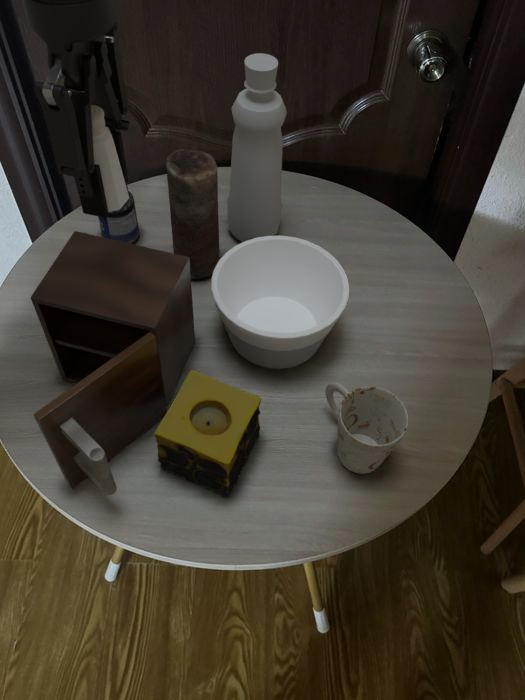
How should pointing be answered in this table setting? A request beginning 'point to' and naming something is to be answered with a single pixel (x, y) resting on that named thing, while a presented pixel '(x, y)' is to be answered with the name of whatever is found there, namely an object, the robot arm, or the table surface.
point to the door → (104, 414)
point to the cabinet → (115, 306)
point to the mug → (367, 425)
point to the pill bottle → (121, 223)
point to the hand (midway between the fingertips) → (106, 196)
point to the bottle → (256, 152)
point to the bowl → (279, 298)
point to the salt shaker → (108, 162)
